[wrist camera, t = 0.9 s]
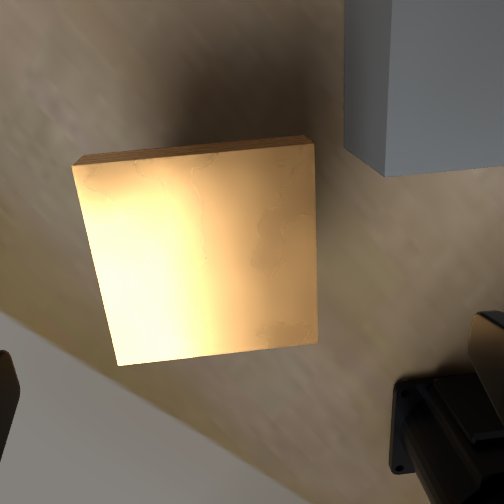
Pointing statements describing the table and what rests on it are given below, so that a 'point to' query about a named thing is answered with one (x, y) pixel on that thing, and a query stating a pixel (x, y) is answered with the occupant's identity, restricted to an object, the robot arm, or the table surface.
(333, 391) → the table surface
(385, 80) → the gray rectangular block
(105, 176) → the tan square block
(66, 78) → the table surface
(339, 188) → the table surface
